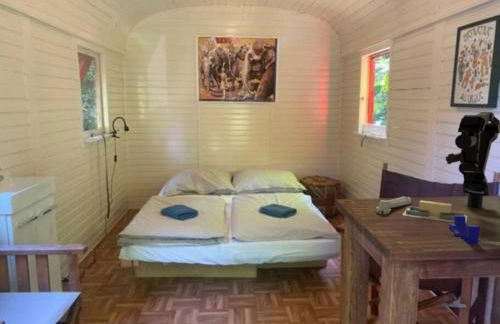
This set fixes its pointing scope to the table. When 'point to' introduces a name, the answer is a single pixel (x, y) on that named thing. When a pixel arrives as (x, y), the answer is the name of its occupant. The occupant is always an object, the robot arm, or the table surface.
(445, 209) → the link bar
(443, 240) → the table surface
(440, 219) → the base board
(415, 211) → the chain end links
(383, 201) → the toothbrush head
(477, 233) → the cable clip
